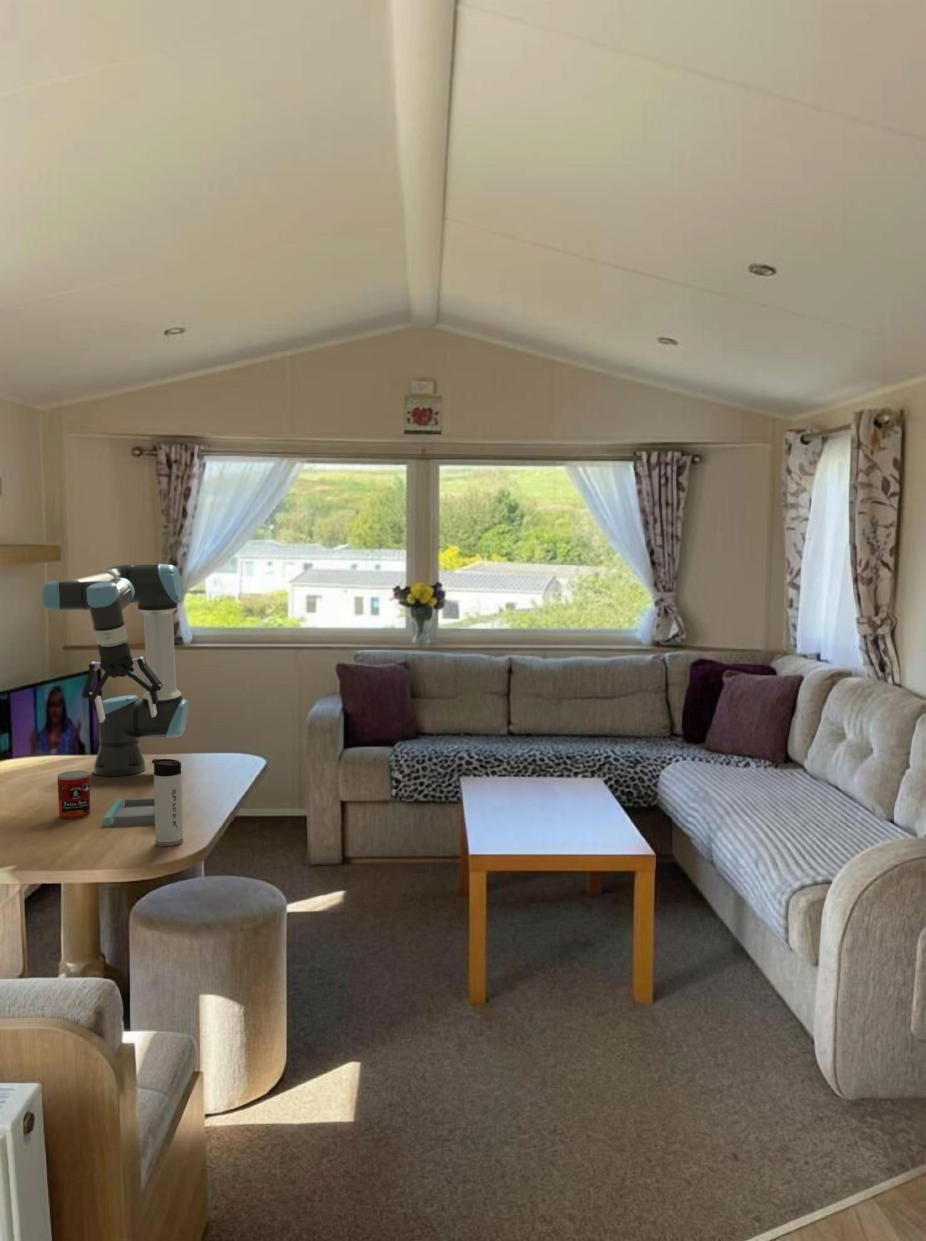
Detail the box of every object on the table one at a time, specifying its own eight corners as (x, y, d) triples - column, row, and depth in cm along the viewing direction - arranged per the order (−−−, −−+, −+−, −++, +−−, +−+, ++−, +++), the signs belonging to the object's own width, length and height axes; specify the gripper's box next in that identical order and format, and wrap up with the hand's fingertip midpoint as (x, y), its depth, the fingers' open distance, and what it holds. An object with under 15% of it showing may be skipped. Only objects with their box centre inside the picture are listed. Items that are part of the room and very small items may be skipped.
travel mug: (157, 839, 230) (155, 756, 228) (185, 838, 230) (183, 756, 229) (151, 847, 224) (149, 762, 222) (180, 846, 224) (178, 762, 223)
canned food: (60, 821, 245) (59, 778, 244) (57, 813, 252) (56, 772, 252) (92, 817, 249) (91, 775, 248) (88, 809, 256) (87, 769, 255)
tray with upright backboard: (117, 807, 258) (116, 770, 257) (174, 804, 261) (174, 768, 260) (104, 826, 240) (103, 787, 240) (166, 823, 243) (165, 784, 242)
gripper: (58, 651, 243) (76, 728, 250) (157, 642, 244) (172, 718, 250) (68, 642, 250) (85, 717, 257) (164, 632, 251) (179, 707, 257)
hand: (128, 718), depth 254 cm, fingers open, 13 cm apart
